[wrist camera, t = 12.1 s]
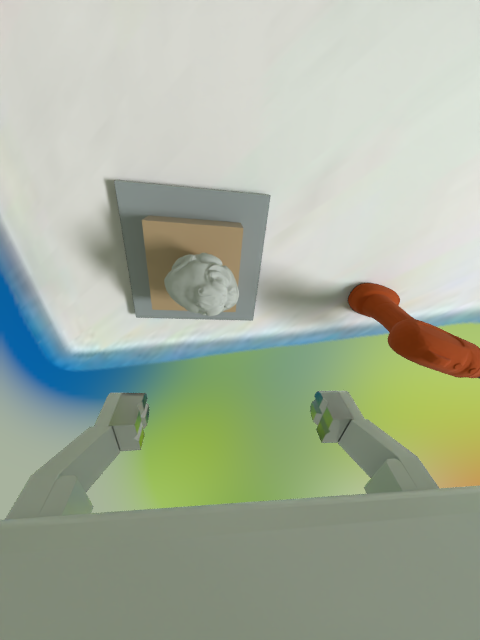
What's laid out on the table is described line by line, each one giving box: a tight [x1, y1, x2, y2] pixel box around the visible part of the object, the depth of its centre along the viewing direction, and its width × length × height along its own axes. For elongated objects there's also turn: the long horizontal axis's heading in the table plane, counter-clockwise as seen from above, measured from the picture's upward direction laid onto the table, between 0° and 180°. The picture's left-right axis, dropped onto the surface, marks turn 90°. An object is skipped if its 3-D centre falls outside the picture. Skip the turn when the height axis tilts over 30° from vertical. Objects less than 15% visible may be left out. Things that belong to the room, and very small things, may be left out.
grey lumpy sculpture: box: [164, 253, 239, 316], centre depth 23 cm, size 6×7×7 cm
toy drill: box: [348, 283, 480, 378], centre depth 30 cm, size 5×19×15 cm, turn 70°
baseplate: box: [114, 180, 270, 320], centre depth 28 cm, size 16×16×4 cm
